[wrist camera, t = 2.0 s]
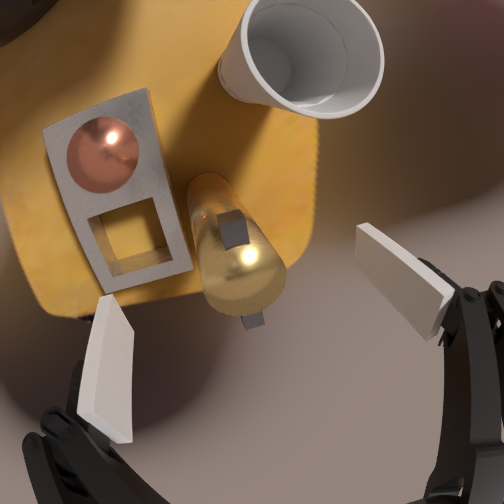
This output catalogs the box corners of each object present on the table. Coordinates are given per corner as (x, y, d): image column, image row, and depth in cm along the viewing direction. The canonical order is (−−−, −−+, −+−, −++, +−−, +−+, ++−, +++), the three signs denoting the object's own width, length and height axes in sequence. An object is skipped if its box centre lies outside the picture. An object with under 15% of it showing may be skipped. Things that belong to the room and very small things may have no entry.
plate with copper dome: (55, 126, 17) (40, 130, 14) (149, 90, 18) (145, 87, 16) (110, 276, 26) (105, 295, 23) (191, 253, 27) (194, 270, 24)
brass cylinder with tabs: (178, 166, 22) (185, 235, 11) (222, 155, 23) (279, 210, 11) (195, 230, 26) (220, 339, 14) (235, 219, 26) (290, 318, 15)
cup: (235, 127, 22) (288, 145, 12) (191, 53, 18) (208, 2, 8) (309, 91, 22) (401, 92, 12) (272, 20, 17) (346, -28, 7)
